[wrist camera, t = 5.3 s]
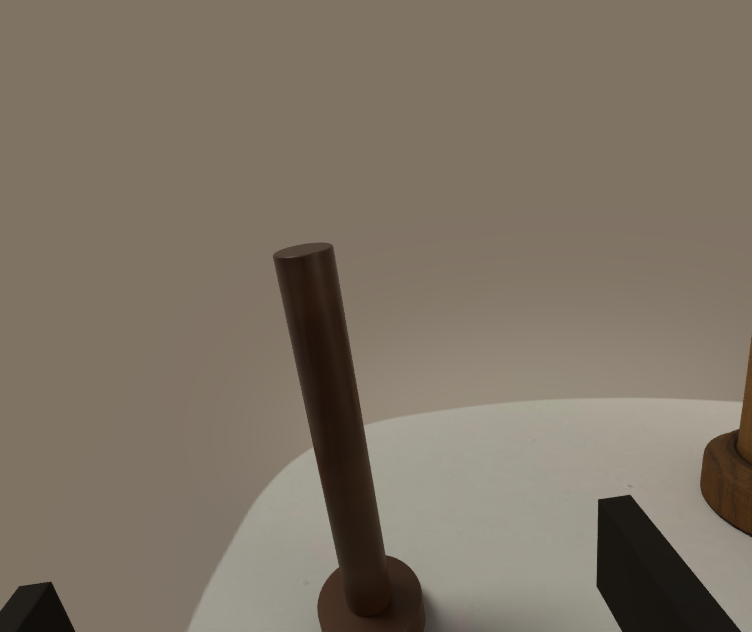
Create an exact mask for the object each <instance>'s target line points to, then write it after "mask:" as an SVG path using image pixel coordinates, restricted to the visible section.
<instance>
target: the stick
mask: <svg viewBox="0 0 752 632" xmlns="http://www.w3.org/2000/svg"><path fill="white" fill-rule="evenodd" d="M273 259H274V264H275V268H276V273H277V278H278V282H279V287H280V292H281V296H282V301H283V305H284V310H285V315H286V320H287V324H288V329H289V334H290V338H291V343H292V348H293V353H294V357H295V362H296V367H297V371H298V376H299V381H300V385H301V390H302V395H303V399H304V404H305V409H306V413H307V418H308V423H309V427H310V432H311V437H312V442H313V446H314V451H315V456H316V460H317V465H318V470H319V474H320V479H321V484H322V488H323V493H324V498H325V502H326V507H327V512H328V516H329V521H330V526H331V531H332V535H333V540H334V545H335V549H336V554H337V559H338V563H339V568H338V569H336V570H335V571H334V572H333V573H332V574H331V575H330V576H329V578H328V579H327V580H326V582H325V584H324V585H323V587H322V590H321V592H320V595H319V599H318V618H319V622H320V626H321V630H322V632H423V631H424V626H425V612H424V604H423V597H422V590H421V586H420V583H419V580H418V578H417V576H416V575H415V573H414V572H413V571H412V569H411V568H410V567H409V566H408V565H406V564H405V563H404V562H402V561H400V560H398V559H396V558H394V557H391V556H387V555H385V549H384V544H383V538H382V532H381V526H380V520H379V514H378V508H377V502H376V496H375V490H374V485H373V479H372V473H371V467H370V461H369V455H368V449H367V443H366V437H365V432H364V426H363V420H362V414H361V408H360V403H359V396H358V390H357V385H356V378H355V374H354V367H353V361H352V355H351V349H350V343H349V337H348V332H347V326H346V320H345V314H344V308H343V302H342V296H341V290H340V284H339V278H338V272H337V267H336V261H335V255H334V249H333V245H332V244H329V243H309V244H302V245H297V246H293V247H289V248H285V249H282V250H280V251H278V252H276V253H274V255H273Z"/></svg>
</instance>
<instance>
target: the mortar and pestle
mask: <svg viewBox="0 0 752 632" xmlns="http://www.w3.org/2000/svg"><path fill="white" fill-rule="evenodd" d="M700 486H701V492H702V495H703V497H704V498H705V500H706V502H707V503H708V504H709V505H710V506H711V507H712V509H713V510H714V511H716V512H717V513H718V514H719V515H720V516H721V517H723V518H724V519H725V520H727V521H728V522H730V523H731V524H733V525H734V526H736V527H737V528H739V529H741V530H743V531H745V532H747V533H749V534H751V535H752V338H751V346H750V354H749V362H748V369H747V377H746V385H745V393H744V400H743V407H742V414H741V421H740V429H738V430H735V431H732V432H730V433H726V434H723V435H720V436H718V437H716V438H714V439H713V440H711V441H710V442H709V443H708V445H707V446H706V448H705V451H704V455H703V463H702V471H701V480H700Z"/></svg>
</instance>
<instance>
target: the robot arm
mask: <svg viewBox="0 0 752 632" xmlns="http://www.w3.org/2000/svg"><path fill="white" fill-rule="evenodd" d="M597 588H598V589H599V591H600V593H601V595H602V597H603V598H604V600H605V602H606V604H607V605H608V607H609V609H610V611H611V612H612V614H613V616H614V618H615V620H616V621H617V623H618V625H619V627H620V628H621V630H622V632H741V631H740V630H739V628H738V627H737V626H736V625H735V624H734V622H733V621H732V620H731V619H730V617H729V616H728V615H727V614H726V612H725V611H724V610H723V609H722V608H721V606H720V605H719V604H718V603H717V601H716V600H715V599H714V598H713V596H712V595H711V594H710V593H709V591H708V590H707V589H706V588H705V587H704V585H703V584H702V583H701V582H700V580H699V579H698V578H697V577H696V575H695V574H694V573H693V572H692V570H691V569H690V568H689V567H688V566H687V564H686V563H685V562H684V561H683V559H682V558H681V557H680V556H679V554H678V553H677V552H676V551H675V550H674V548H673V547H672V546H671V545H670V543H669V542H668V541H667V540H666V538H665V537H664V536H663V535H662V533H661V532H660V531H659V530H658V529H657V527H656V526H655V525H654V524H653V522H652V521H651V520H650V519H649V517H648V516H647V515H646V514H645V512H644V511H643V510H642V509H641V508H640V506H639V505H638V504H637V503H636V501H635V500H634V499H633V498H632V496H631V495H625V496H619V497H612V498H605V499H599V500H598V542H597ZM0 632H75V630H74V628H73V626H72V624H71V622H70V620H69V618H68V616H67V613H66V612H65V609H64V607H63V605H62V603H61V601H60V599H59V597H58V595H57V593H56V591H55V589H54V587H53V584H52V583H51V582H46V583H39V584H32V585H25V586H19V587H18V589H17V590H16V591H15V593H14V594H13V595H12V597H11V598H10V599H9V601H8V602H7V603H6V604H5V606H4V607H3V608H2V610H1V611H0Z"/></svg>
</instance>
